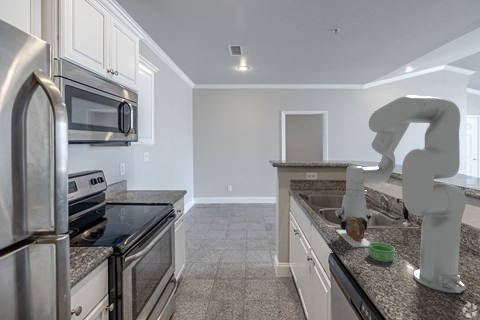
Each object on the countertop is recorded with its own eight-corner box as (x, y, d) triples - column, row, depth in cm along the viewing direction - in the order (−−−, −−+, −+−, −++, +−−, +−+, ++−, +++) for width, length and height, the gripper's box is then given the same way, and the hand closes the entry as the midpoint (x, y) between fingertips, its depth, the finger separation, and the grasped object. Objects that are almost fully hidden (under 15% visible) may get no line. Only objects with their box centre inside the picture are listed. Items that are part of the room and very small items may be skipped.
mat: (374, 247, 109) (374, 245, 109) (353, 246, 109) (353, 245, 109) (353, 231, 129) (353, 230, 129) (335, 231, 129) (335, 230, 129)
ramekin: (399, 263, 94) (400, 251, 94) (374, 262, 95) (374, 251, 95) (387, 253, 103) (387, 242, 103) (364, 252, 104) (364, 241, 104)
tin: (344, 231, 126) (344, 215, 126) (350, 231, 126) (351, 215, 126) (358, 243, 111) (358, 224, 111) (365, 243, 111) (366, 224, 111)
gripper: (369, 191, 121) (368, 226, 122) (333, 191, 122) (332, 226, 123) (377, 194, 114) (376, 232, 115) (339, 194, 114) (338, 231, 115)
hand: (353, 229), depth 119 cm, fingers open, 9 cm apart
